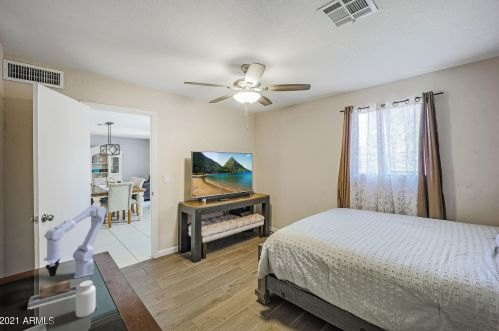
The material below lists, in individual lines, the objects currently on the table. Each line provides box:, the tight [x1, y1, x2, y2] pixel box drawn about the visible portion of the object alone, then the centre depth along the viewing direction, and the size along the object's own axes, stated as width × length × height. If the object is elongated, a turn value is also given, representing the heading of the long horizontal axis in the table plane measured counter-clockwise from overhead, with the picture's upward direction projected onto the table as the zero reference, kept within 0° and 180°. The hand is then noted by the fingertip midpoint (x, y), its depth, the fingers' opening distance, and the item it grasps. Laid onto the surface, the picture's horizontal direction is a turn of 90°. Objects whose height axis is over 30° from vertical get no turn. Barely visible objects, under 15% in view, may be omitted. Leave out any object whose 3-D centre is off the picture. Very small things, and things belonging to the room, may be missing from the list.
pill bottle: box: [75, 279, 97, 318], centre depth 106 cm, size 8×8×15 cm
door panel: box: [38, 279, 71, 300], centre depth 114 cm, size 12×2×7 cm, turn 127°
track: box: [27, 283, 81, 310], centre depth 114 cm, size 20×8×3 cm, turn 128°
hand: (53, 272), depth 121 cm, fingers open, 7 cm apart
